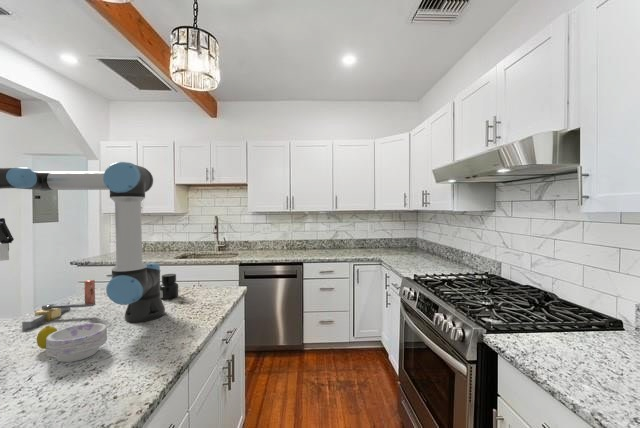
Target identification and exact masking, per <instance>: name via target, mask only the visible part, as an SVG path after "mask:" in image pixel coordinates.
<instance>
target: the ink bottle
mask: <svg viewBox="0 0 640 428" xmlns="http://www.w3.org/2000/svg"><path fill="white" fill-rule="evenodd" d="M176 281H177V274H176V273H165V274H162V275H161V284H160V297H161V300H162V301H167V300H168V301H169V300H175V299H177V298H178V297H179V284H178V283H177V282H176Z"/></svg>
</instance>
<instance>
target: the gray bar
mask: <svg viewBox="0 0 640 428" xmlns="http://www.w3.org/2000/svg"><path fill="white" fill-rule="evenodd" d="M60 304H71V302H61V303H60ZM68 309H69V310H70V309H71V308H55V309H48V310H42V309H40V310H37V311H35V312H34V316H32V317H30V318H28V319H25V320H24V321H22V322H21V324H22V325H21V326H22V327H21V329H22V330H23V331H24V330H33V329H34V328H36V327H38V326H40V325H42V324H44V323H46V322H50V321H53V320H55V319H57V318H58V317H61V315H62V314H63V313H65V312H67V311H68Z"/></svg>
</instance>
